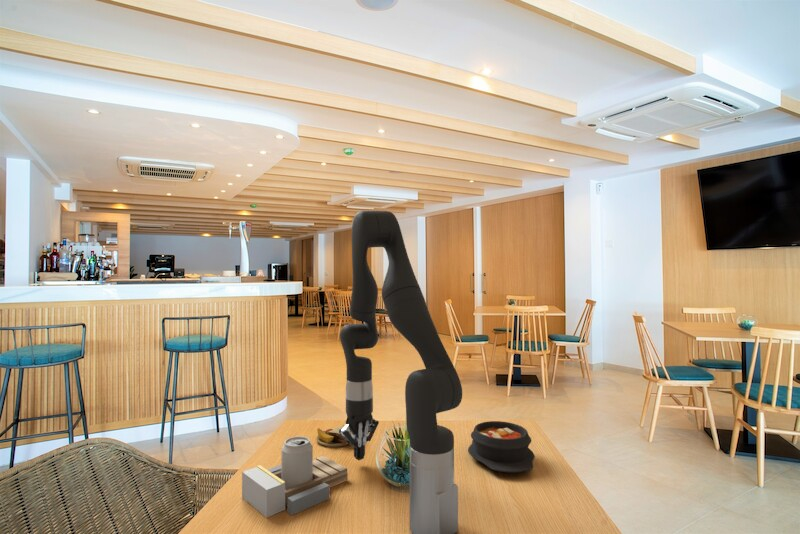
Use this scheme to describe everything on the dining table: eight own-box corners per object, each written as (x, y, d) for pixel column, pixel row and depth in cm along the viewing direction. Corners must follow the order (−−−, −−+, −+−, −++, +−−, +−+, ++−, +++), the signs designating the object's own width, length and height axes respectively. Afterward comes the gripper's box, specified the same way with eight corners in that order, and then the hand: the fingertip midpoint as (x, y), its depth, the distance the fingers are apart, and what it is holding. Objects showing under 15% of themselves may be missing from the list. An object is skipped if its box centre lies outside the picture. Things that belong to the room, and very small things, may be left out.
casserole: (550, 478, 112) (549, 446, 112) (479, 480, 111) (479, 447, 111) (517, 441, 137) (517, 414, 137) (460, 442, 135) (460, 415, 136)
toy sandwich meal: (340, 430, 146) (340, 416, 146) (365, 441, 136) (365, 426, 136) (308, 440, 138) (308, 425, 138) (332, 453, 128) (332, 437, 128)
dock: (329, 498, 102) (329, 471, 102) (273, 523, 91) (273, 494, 92) (289, 473, 114) (289, 449, 114) (236, 492, 104) (236, 466, 104)
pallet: (347, 480, 111) (347, 468, 111) (284, 506, 98) (284, 493, 98) (322, 466, 118) (322, 455, 118) (261, 489, 106) (261, 477, 106)
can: (306, 498, 102) (306, 447, 102) (276, 496, 103) (276, 445, 103) (316, 482, 109) (316, 435, 109) (288, 481, 110) (288, 433, 110)
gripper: (348, 403, 112) (349, 470, 112) (385, 393, 121) (386, 455, 121) (331, 397, 117) (331, 462, 117) (368, 388, 127) (368, 448, 126)
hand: (359, 458), depth 119 cm, fingers closed
